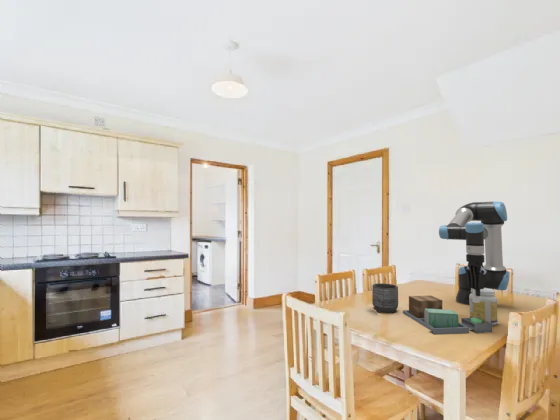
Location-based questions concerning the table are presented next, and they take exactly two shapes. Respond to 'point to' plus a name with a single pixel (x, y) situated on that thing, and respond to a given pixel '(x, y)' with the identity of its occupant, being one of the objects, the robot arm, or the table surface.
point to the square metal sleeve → (477, 325)
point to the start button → (476, 320)
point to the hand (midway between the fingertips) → (476, 302)
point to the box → (441, 318)
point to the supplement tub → (484, 306)
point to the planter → (385, 297)
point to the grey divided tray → (434, 330)
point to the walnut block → (423, 304)
